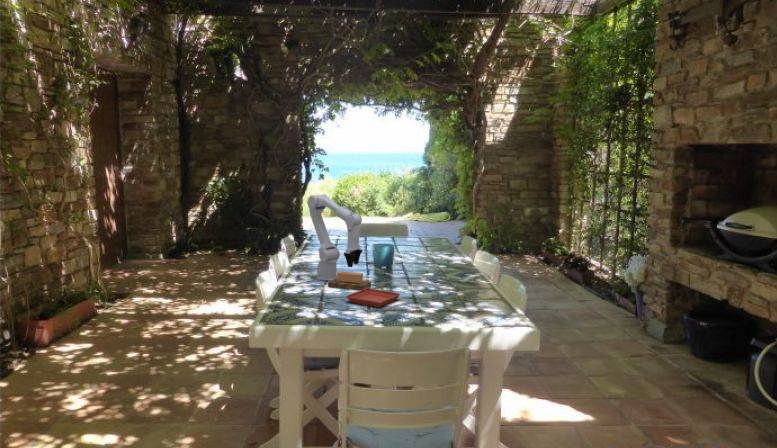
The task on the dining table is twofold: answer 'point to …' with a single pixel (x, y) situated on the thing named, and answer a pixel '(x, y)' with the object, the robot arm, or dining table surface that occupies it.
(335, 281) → the brown flat slab
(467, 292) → the dining table surface
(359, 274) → the tan stepped block
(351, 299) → the plant saucer
